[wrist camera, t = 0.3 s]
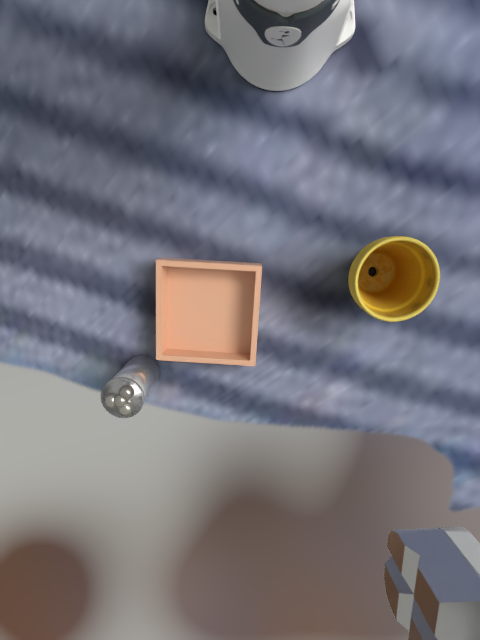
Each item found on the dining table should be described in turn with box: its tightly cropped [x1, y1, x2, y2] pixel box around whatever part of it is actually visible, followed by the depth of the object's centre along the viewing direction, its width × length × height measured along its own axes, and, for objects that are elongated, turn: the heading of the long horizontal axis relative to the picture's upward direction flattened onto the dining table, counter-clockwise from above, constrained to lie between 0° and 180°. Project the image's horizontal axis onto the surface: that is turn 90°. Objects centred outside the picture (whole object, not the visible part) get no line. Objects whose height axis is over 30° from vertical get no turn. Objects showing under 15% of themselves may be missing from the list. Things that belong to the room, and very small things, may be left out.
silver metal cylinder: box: [101, 355, 160, 418], centre depth 52 cm, size 6×6×11 cm
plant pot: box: [348, 236, 440, 322], centre depth 48 cm, size 10×10×10 cm
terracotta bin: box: [156, 258, 262, 366], centre depth 53 cm, size 15×15×4 cm
